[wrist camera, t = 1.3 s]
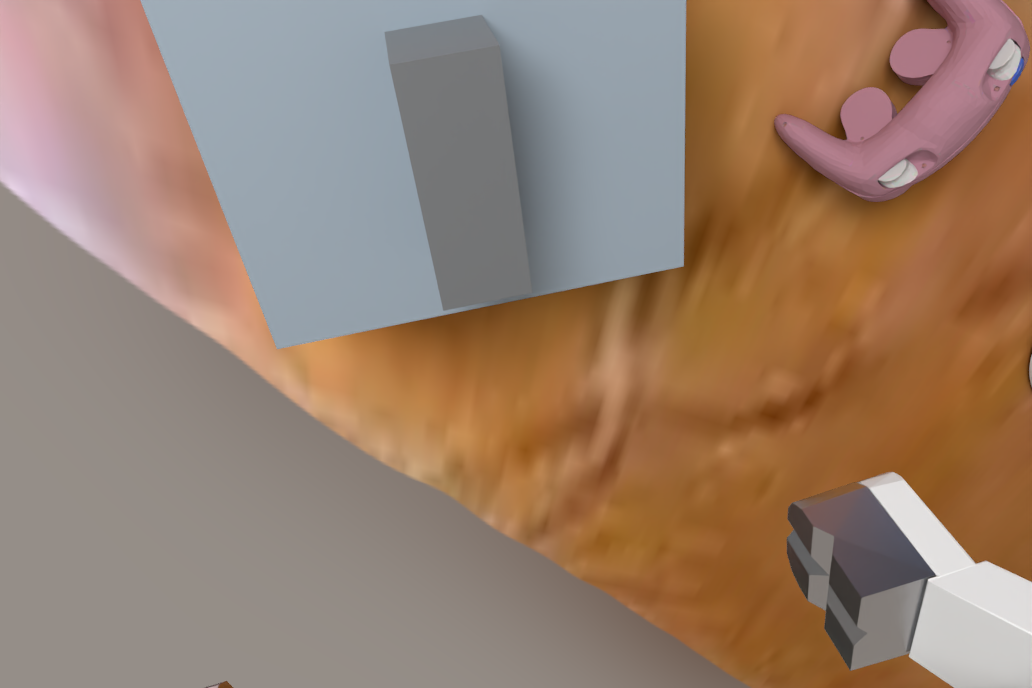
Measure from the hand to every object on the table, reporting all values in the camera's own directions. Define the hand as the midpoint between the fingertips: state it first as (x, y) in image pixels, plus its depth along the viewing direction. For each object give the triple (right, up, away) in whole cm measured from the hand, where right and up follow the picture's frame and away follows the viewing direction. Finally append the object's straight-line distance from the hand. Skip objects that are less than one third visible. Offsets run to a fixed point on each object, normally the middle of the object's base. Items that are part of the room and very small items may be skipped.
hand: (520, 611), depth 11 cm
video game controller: (+17, +17, +26) cm, 35 cm away
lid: (-3, +12, +17) cm, 21 cm away
